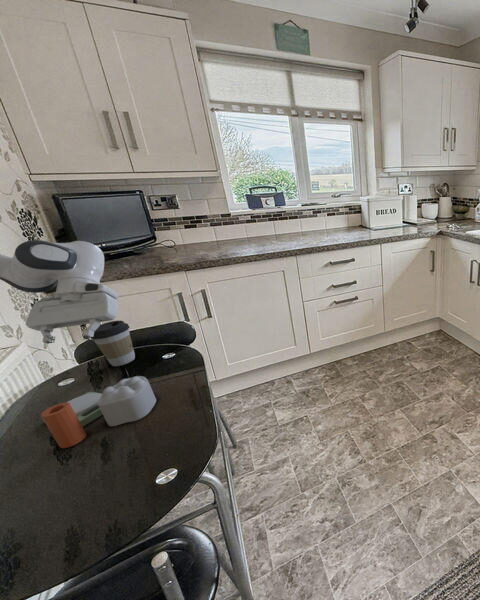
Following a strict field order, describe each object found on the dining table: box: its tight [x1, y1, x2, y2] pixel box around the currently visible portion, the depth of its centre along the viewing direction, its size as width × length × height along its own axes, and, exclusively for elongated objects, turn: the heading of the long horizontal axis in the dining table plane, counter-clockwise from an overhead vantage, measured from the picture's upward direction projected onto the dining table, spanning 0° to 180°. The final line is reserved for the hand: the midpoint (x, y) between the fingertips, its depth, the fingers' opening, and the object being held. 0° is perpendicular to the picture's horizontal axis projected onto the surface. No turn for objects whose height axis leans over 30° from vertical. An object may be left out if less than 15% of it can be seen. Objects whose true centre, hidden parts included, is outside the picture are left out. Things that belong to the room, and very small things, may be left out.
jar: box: [40, 401, 87, 449], centre depth 83 cm, size 5×5×10 cm
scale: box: [41, 391, 103, 428], centre depth 95 cm, size 14×12×3 cm
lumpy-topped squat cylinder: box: [97, 375, 157, 427], centre depth 94 cm, size 10×13×9 cm
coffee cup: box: [89, 320, 136, 367], centre depth 121 cm, size 11×11×15 cm
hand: (68, 339), depth 88 cm, fingers open, 8 cm apart
